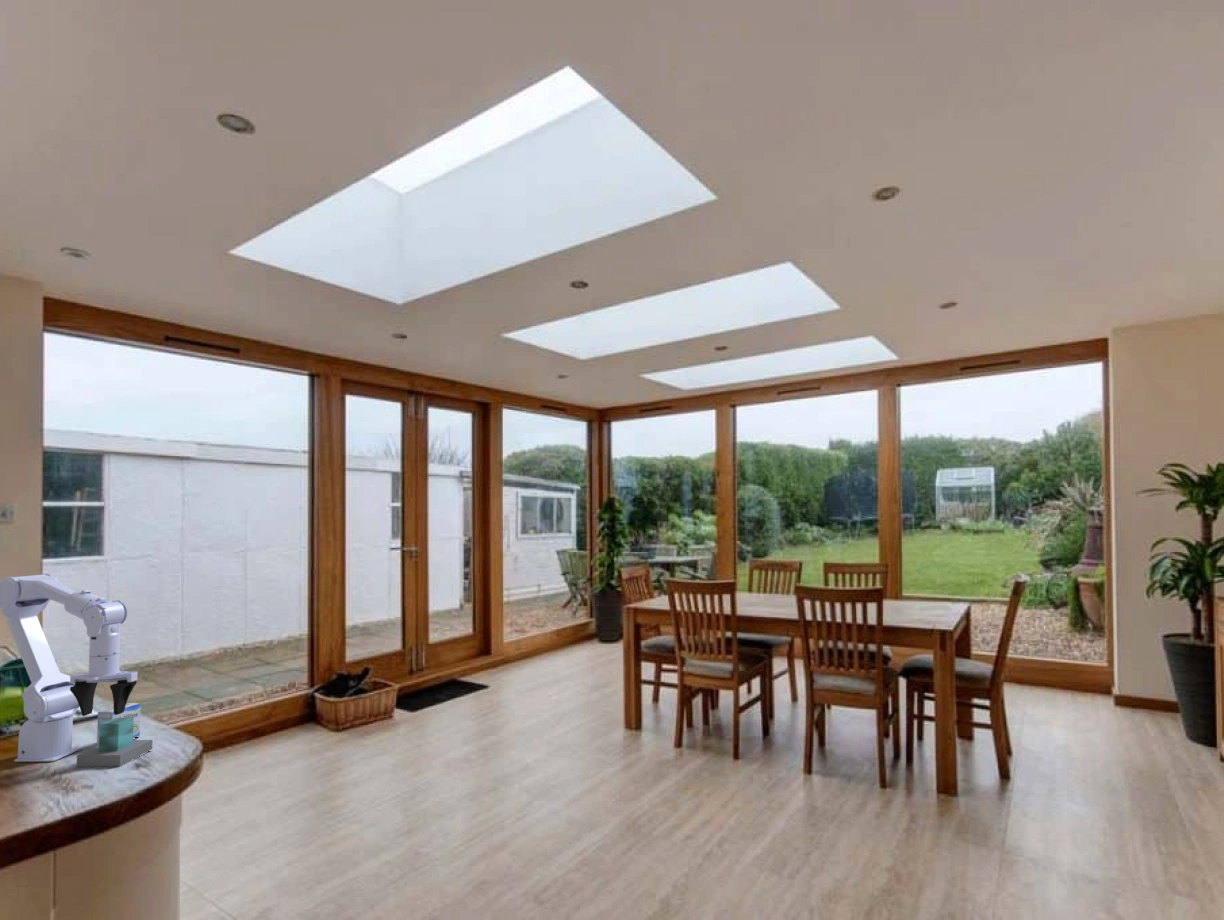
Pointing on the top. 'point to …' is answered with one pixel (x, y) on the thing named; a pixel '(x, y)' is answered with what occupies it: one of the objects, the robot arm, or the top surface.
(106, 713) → the medicine box
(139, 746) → the charcoal base
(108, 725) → the teal block
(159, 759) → the top surface
